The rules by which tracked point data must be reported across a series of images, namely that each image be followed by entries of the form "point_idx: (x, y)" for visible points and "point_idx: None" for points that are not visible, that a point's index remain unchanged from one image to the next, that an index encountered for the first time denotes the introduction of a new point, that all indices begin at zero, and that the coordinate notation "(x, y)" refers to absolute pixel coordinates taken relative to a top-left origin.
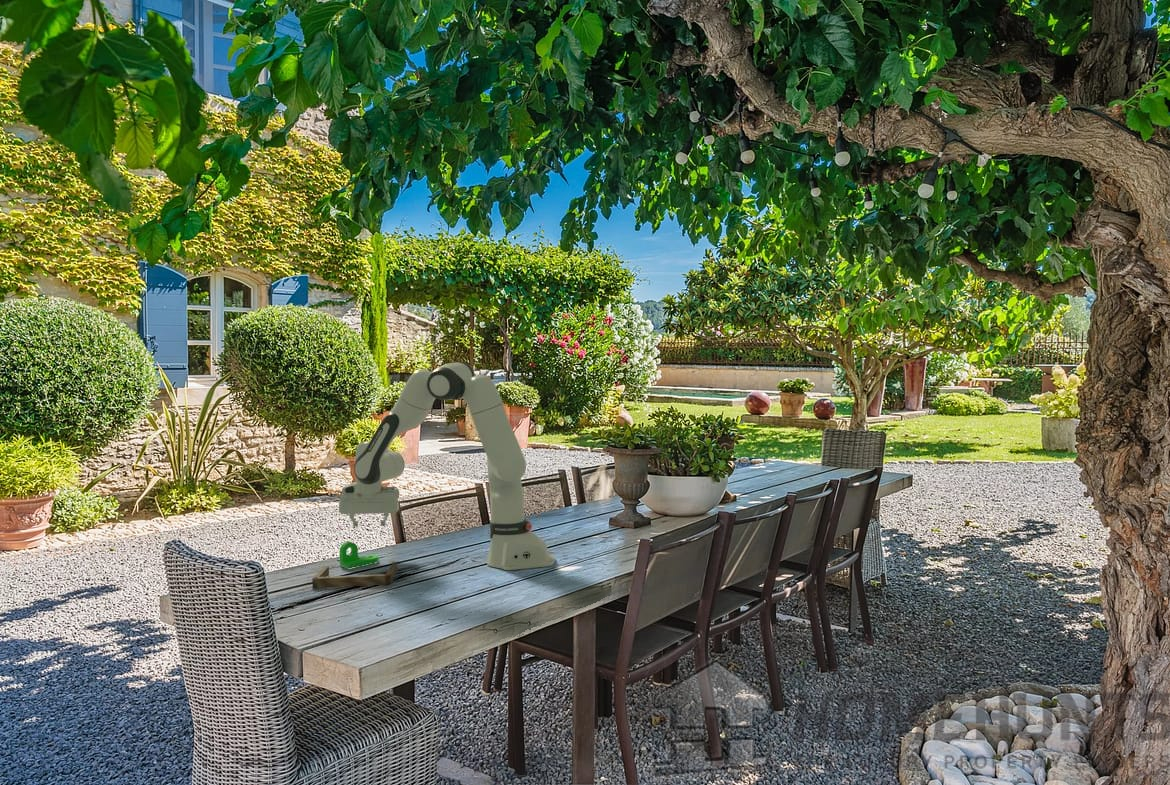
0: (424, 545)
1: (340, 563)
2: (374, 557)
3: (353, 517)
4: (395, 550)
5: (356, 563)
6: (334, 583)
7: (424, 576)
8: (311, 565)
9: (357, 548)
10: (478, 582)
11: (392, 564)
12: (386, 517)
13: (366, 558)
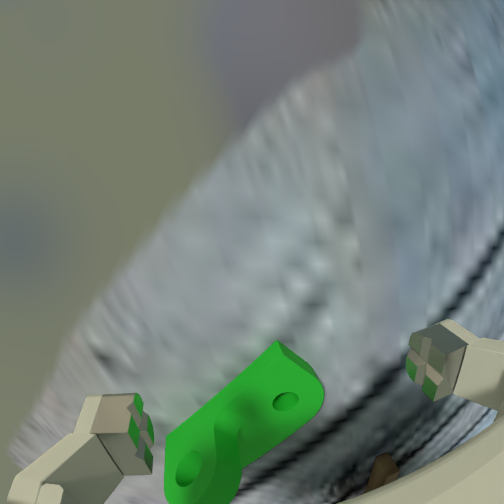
0: (457, 83)
1: (168, 446)
2: (308, 405)
3: (69, 485)
4: (358, 157)
5: (248, 461)
6: None
7: (438, 450)
8: (45, 414)
9: (240, 467)
10: None
11: (386, 481)
12: (500, 402)
13: (274, 421)
